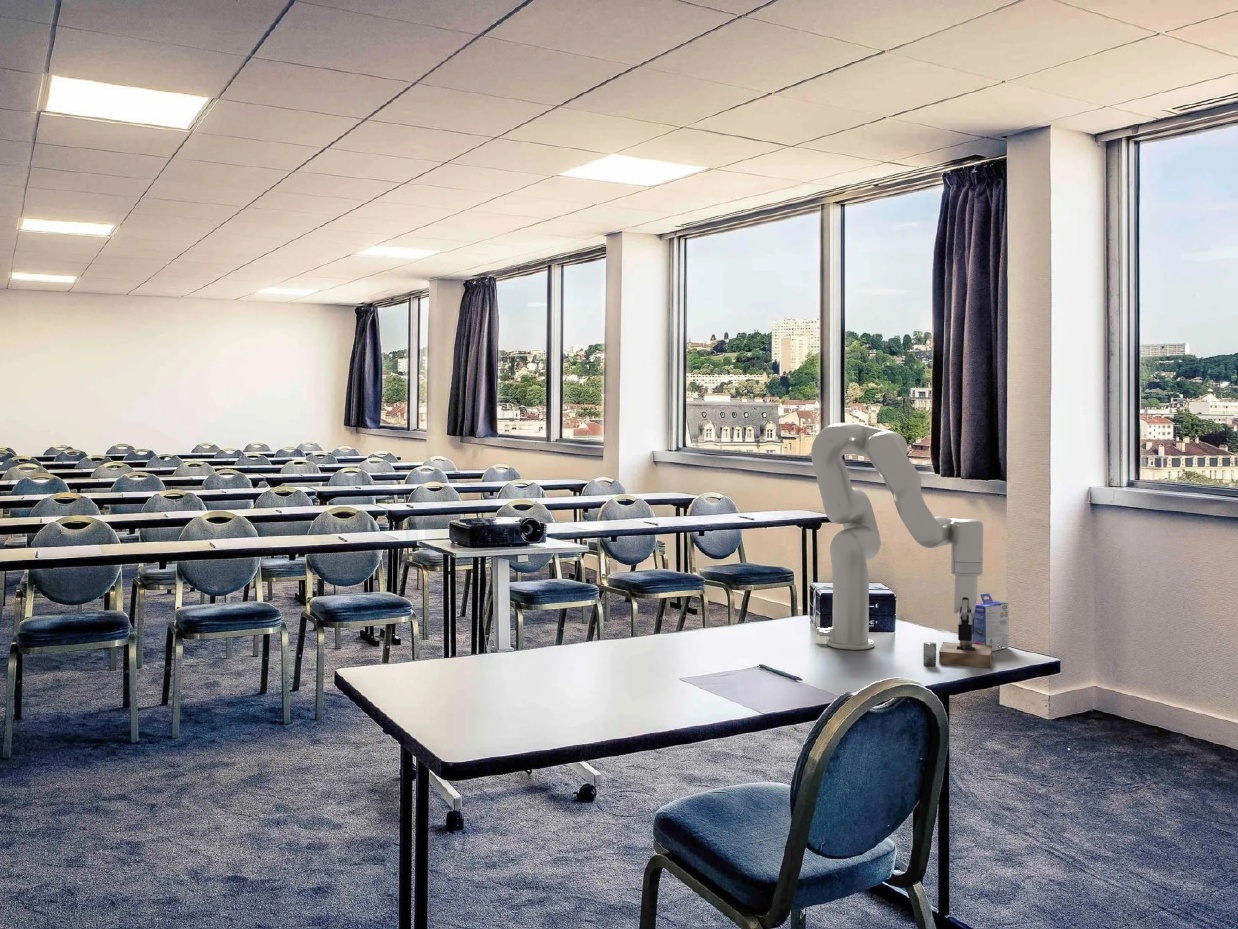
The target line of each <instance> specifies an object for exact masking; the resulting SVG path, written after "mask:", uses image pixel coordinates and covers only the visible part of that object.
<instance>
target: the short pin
mask: <svg viewBox="0 0 1238 929" xmlns="http://www.w3.org/2000/svg"><path fill="white" fill-rule="evenodd" d="M922 649H923V658H922V659H923V664H922V665H923V667H928V668H935V667H936V666H937V643H936V642H931V641H925V642H923V648H922Z"/></svg>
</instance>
